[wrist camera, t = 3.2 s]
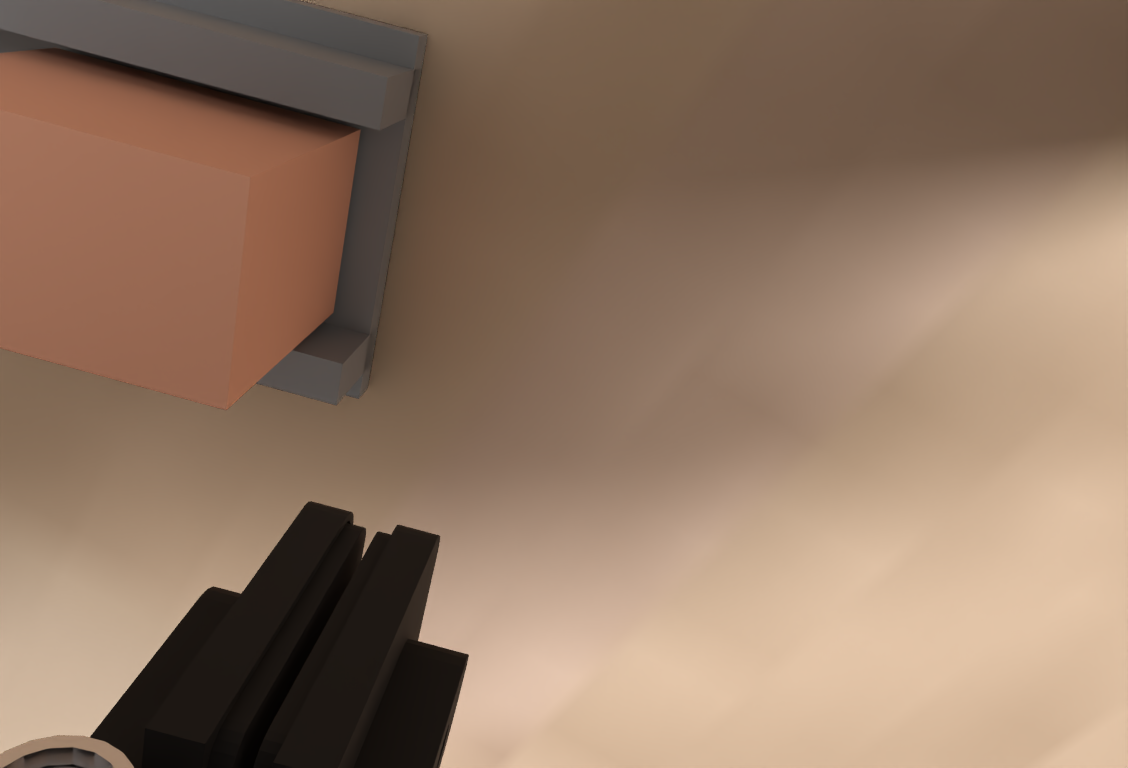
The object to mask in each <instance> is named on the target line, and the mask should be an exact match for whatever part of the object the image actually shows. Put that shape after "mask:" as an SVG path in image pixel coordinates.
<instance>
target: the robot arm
mask: <svg viewBox="0 0 1128 768" xmlns="http://www.w3.org/2000/svg"><path fill="white" fill-rule="evenodd" d="M365 537H366V529H365V528H364V527H360V526H356V525H353V513H352V512H349V511H345V510H342V509H338V508H334V507H330V506H327V505H323V504H319V503H315V502H312V501H311V502H308V503H307V504H306V505H305V506H304V508H303V509H302V510H301V512H300V513H299V515H298V516H297V517H296V519H295V520H294V521H293V523H292V524H291V526H290V527H289V528H288V530H287V531H286V533H285V534H284V535H283V537H282V538H281V540H280V541H279V542H278V544H277V545H276V546H275V548H274V549H273V551H272V552H271V553H270V555H269V556H268V558H267V559H266V560H265V562H264V563H263V565H262V566H261V567H260V569H259V570H258V572H257V573H256V574H255V576H254V577H253V578H252V580H251V581H250V583H249V584H248V585H247V587H246V588H245V590H244V591H243V592H242V594H240V593H236V592H232V591H228V590H225V589H221V588H217V587H211V588H209V589H207V590H206V591H205V592H204V593H203V594H202V595H201V596H200V598H199V599H198V600H197V601H196V603H195V604H194V605H193V607H192V608H191V609H190V610H189V612H188V613H187V614H186V616H185V617H184V618H183V619H182V621H181V622H180V623H179V624H178V626H177V627H176V628H175V630H174V631H173V632H172V633H171V635H170V636H169V637H168V638H167V640H166V641H165V642H164V644H163V645H162V646H161V647H160V649H159V650H158V651H157V652H156V654H155V655H154V656H153V658H152V659H151V660H150V661H149V663H148V664H147V665H146V666H145V668H144V669H143V670H142V672H141V673H140V674H139V675H138V677H137V678H136V679H135V680H134V682H133V683H132V684H131V686H130V687H129V688H128V689H127V691H126V692H125V693H124V694H123V696H122V697H121V698H120V700H119V701H118V702H117V703H116V705H115V706H114V707H113V709H112V710H111V711H110V712H109V714H108V715H107V716H106V717H105V719H104V720H103V721H102V723H101V724H100V725H99V726H98V728H97V729H96V730H95V731H94V733H93V734H92V735H91V737H86V736H65V735H57V736H52V737H46V738H41V739H36V740H31V741H28V742H26V743H23V744H21V745H19V746H16V747H14V748H11V749H9V750H6V751H4V752H3V753H2V754H0V768H439V767H440V764H441V760H442V757H443V753H444V750H445V746H446V743H447V739H448V736H449V732H450V728H451V725H452V721H453V717H454V713H455V709H456V706H457V702H458V698H459V694H460V690H461V686H462V682H463V678H464V674H465V670H466V666H467V661H468V657H469V655H468V654H464V653H460V652H456V651H453V650H449V649H445V648H441V647H438V646H434V645H430V644H426V643H423V642H419V641H418V638H419V633H420V629H421V624H422V620H423V615H424V611H425V606H426V602H427V597H428V593H429V588H430V584H431V579H432V575H433V570H434V566H435V561H436V557H437V552H438V547H439V542H440V536H439V535H435V534H431V533H428V532H424V531H420V530H416V529H413V528H409V527H405V526H401V525H397V526H396V528H395V529H394V531H393V533H392V535H390V534H386V533H382V532H377V533H376V535H375V536H374V538H373V540H372V542H371V544H370V545H369V547H368V549H367V551H366V553H365V555H364V556H363V558H362V553H363V548H364V543H365ZM361 559H362V560H361Z"/></svg>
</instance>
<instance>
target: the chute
mask: <svg viewBox="0 0 1128 768" xmlns="http://www.w3.org/2000/svg"><path fill="white" fill-rule="evenodd" d="M427 36H428V34H424V33H420V32H417V31H413V30H409V29H405V28H402V27H398V26H394V25H390V24H387V23H383V22H379V21H375V20H372V19H368V18H364V17H360V16H356V15H353V14H349V13H345V12H341V11H338V10H334V9H330V8H326V7H323V6H319V5H315V4H311V3H308V2H304V1H300V0H0V53H5V52H16V51H26V50H36V49H47V48H59V49H62V50H66V51H70V52H74V53H77V54H81V55H85V56H88V57H92V58H96V59H100V60H103V61H107V62H111V63H115V64H118V65H122V66H126V67H130V68H133V69H137V70H141V71H144V72H148V73H152V74H156V75H159V76H163V77H167V78H171V79H174V80H178V81H182V82H185V83H189V84H193V85H197V86H200V87H204V88H208V89H212V90H215V91H219V92H223V93H226V94H230V95H234V96H238V97H241V98H245V99H249V100H253V101H256V102H260V103H264V104H267V105H271V106H275V107H279V108H282V109H286V110H290V111H294V112H297V113H301V114H305V115H308V116H312V117H316V118H320V119H323V120H327V121H331V122H335V123H338V124H342V125H346V126H350V127H353V128H357V129H361V131H360V137H359V144H358V151H357V157H356V164H355V171H354V178H353V184H352V191H351V198H350V205H349V211H348V218H347V225H346V231H345V238H344V245H343V252H342V258H341V265H340V272H339V279H338V285H337V292H336V299H335V306H334V312H333V313H332V314H331V315H330V316H329V317H328V318H327V319H326V320H325V321H324V322H322V323H321V324H320V325H319V326H318V327H317V328H316V329H315V330H314V331H313V332H312V333H310V334H309V335H308V336H307V337H306V338H305V339H304V340H303V341H302V342H301V343H299V344H298V345H297V346H296V347H295V348H294V349H293V350H292V351H291V352H290V353H289V354H287V355H286V356H285V357H284V358H283V359H282V360H281V361H280V362H279V363H278V364H276V365H275V366H274V367H273V368H272V369H271V370H270V371H269V372H268V373H267V374H266V375H264V376H263V377H262V378H261V379H260V380H259V381H258V382H257V384H260V385H264V386H268V387H271V388H275V389H278V390H282V391H286V392H289V393H293V394H297V395H300V396H304V397H308V398H311V399H315V400H319V401H322V402H326V403H330V404H333V405H337V404H338V403H339V402H340V400H341V399H342V398H343V397H344V396H345V395H347V396H350V397H354V398H358V399H359V398H360V397H361V396H362V394H363V393H364V392H365V391H366V389H367V388H368V383H369V377H370V371H371V365H372V359H373V353H374V348H375V342H376V336H377V330H378V324H379V318H380V312H381V306H382V301H383V295H384V289H385V283H386V277H387V271H388V265H389V259H390V254H391V248H392V242H393V236H394V230H395V224H396V218H397V212H398V207H399V201H400V195H401V189H402V183H403V177H404V171H405V165H406V160H407V154H408V148H409V142H410V136H411V130H412V124H413V118H414V113H415V107H416V101H417V95H418V89H419V83H420V77H421V71H422V66H423V60H424V54H425V48H426V42H427Z"/></svg>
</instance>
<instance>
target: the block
mask: <svg viewBox="0 0 1128 768" xmlns="http://www.w3.org/2000/svg"><path fill="white" fill-rule="evenodd" d="M360 131H361V129H357V128H353V127H350V126H346V125H342V124H338V123H335V122H331V121H327V120H323V119H320V118H316V117H312V116H308V115H305V114H301V113H297V112H294V111H290V110H286V109H282V108H279V107H275V106H271V105H267V104H264V103H260V102H256V101H253V100H249V99H245V98H241V97H238V96H234V95H230V94H226V93H223V92H219V91H215V90H212V89H208V88H204V87H200V86H197V85H193V84H189V83H185V82H182V81H178V80H174V79H171V78H167V77H163V76H159V75H156V74H152V73H148V72H144V71H141V70H137V69H133V68H130V67H126V66H122V65H118V64H115V63H111V62H107V61H103V60H100V59H96V58H92V57H88V56H85V55H81V54H77V53H74V52H70V51H66V50H62V49H59V48H47V49H36V50H26V51H16V52H5V53H0V348H2V349H5V350H9V351H13V352H16V353H20V354H24V355H27V356H31V357H34V358H38V359H42V360H45V361H49V362H53V363H56V364H60V365H64V366H67V367H71V368H75V369H78V370H82V371H85V372H89V373H93V374H96V375H100V376H104V377H107V378H111V379H115V380H118V381H122V382H125V383H129V384H133V385H136V386H140V387H144V388H147V389H151V390H155V391H158V392H162V393H165V394H169V395H173V396H176V397H180V398H184V399H187V400H191V401H195V402H198V403H202V404H206V405H209V406H213V407H216V408H220V409H224V410H227V409H228V408H229V407H230V406H232V405H233V404H234V403H235V402H236V401H237V400H238V399H239V398H240V397H241V396H242V395H244V394H245V393H246V392H247V391H248V390H249V389H250V388H251V387H252V386H253V385H255V384H256V383H257V382H258V381H259V380H260V379H261V378H262V377H263V376H264V375H266V374H267V373H268V372H269V371H270V370H271V369H272V368H273V367H274V366H275V365H276V364H278V363H279V362H280V361H281V360H282V359H283V358H284V357H285V356H286V355H287V354H289V353H290V352H291V351H292V350H293V349H294V348H295V347H296V346H297V345H298V344H299V343H301V342H302V341H303V340H304V339H305V338H306V337H307V336H308V335H309V334H310V333H312V332H313V331H314V330H315V329H316V328H317V327H318V326H319V325H320V324H321V323H322V322H324V321H325V320H326V319H327V318H328V317H329V316H330V315H331V314H332V313H333V312H334V306H335V299H336V292H337V285H338V279H339V272H340V265H341V258H342V252H343V245H344V238H345V231H346V225H347V218H348V211H349V205H350V198H351V191H352V184H353V178H354V171H355V164H356V157H357V151H358V144H359V137H360Z"/></svg>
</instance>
